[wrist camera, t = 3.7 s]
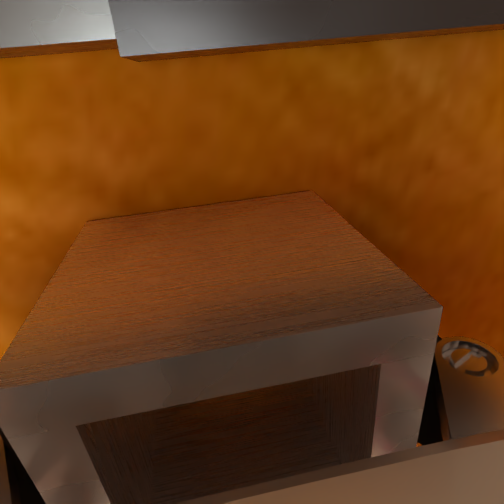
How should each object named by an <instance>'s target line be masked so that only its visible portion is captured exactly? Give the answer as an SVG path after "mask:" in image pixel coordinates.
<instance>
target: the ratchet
mask: <svg viewBox="0 0 504 504" xmlns="http://www.w3.org/2000/svg"><path fill="white" fill-rule="evenodd" d="M493 30H504V0H0V58H11V57H23V56H35V55H47V54H59V53H71V52H83V51H95V50H107V49H119V53H120V57H123V58H127V59H130V60H134V61H138V62H141V61H152V60H164V59H175V58H186V57H198V56H209V55H220V54H232V53H243V52H255V51H266V50H277V49H289V48H300V47H311V46H323V45H334V44H345V43H357V42H368V41H379V40H391V39H402V38H413V37H425V36H436V35H447V34H459V33H470V32H481V31H493Z"/></svg>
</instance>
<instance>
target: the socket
mask: <svg viewBox="0 0 504 504" xmlns="http://www.w3.org/2000/svg"><path fill="white" fill-rule="evenodd" d="M442 310H443V306H442V305H440V304H439V303H438V302H437V301H436V300H435V299H434V298H433V297H431V296H430V295H429V294H428V293H427V292H426V291H425V290H424V289H422V288H421V287H420V286H419V285H418V284H417V283H416V282H415V281H413V280H412V279H411V278H410V277H409V276H408V275H407V274H406V273H404V272H403V271H402V270H401V269H400V268H399V267H398V266H397V265H395V264H394V263H393V262H392V261H391V260H390V259H389V258H388V257H386V256H385V255H384V254H383V253H382V252H381V251H380V250H379V249H377V248H376V247H375V246H374V245H373V244H372V243H371V242H370V241H368V240H367V239H366V238H365V237H364V236H363V235H362V234H361V233H359V232H358V231H357V230H356V229H355V228H354V227H353V226H352V225H350V224H349V223H348V222H347V221H346V220H345V219H344V218H343V217H341V216H340V215H339V214H338V213H337V212H336V211H335V210H334V209H333V208H331V207H330V206H329V205H328V204H327V203H326V202H325V201H324V200H322V199H321V198H320V197H319V196H318V195H317V194H316V193H315V192H313V191H305V192H298V193H290V194H283V195H276V196H269V197H261V198H254V199H247V200H240V201H232V202H225V203H218V204H211V205H203V206H196V207H189V208H182V209H174V210H167V211H160V212H153V213H145V214H138V215H131V216H123V217H116V218H109V219H102V220H94V221H87V222H86V223H85V225H84V227H83V228H82V230H81V232H80V233H79V235H78V236H77V238H76V240H75V241H74V243H73V244H72V246H71V248H70V249H69V251H68V252H67V254H66V256H65V257H64V259H63V261H62V262H61V264H60V265H59V267H58V269H57V270H56V272H55V273H54V275H53V277H52V278H51V280H50V281H49V283H48V285H47V286H46V288H45V289H44V291H43V293H42V294H41V296H40V298H39V299H38V301H37V302H36V304H35V306H34V307H33V309H32V310H31V312H30V314H29V315H28V317H27V318H26V320H25V322H24V323H23V325H22V326H21V328H20V330H19V331H18V333H17V335H16V336H15V338H14V339H13V341H12V343H11V344H10V346H9V347H8V349H7V351H6V352H5V354H4V355H3V357H2V359H1V360H0V428H1V429H2V431H3V433H4V434H5V436H6V438H7V439H8V441H9V443H10V444H11V446H12V448H13V449H14V451H15V453H16V454H17V456H18V458H19V459H20V461H21V463H22V464H23V466H24V468H25V469H26V471H27V473H28V474H29V476H30V478H31V479H32V481H33V483H34V485H35V486H36V488H37V490H38V491H39V493H40V495H41V496H42V498H43V500H44V501H45V503H46V504H175V503H179V502H183V501H187V500H192V499H196V498H200V497H204V496H208V495H213V494H217V493H221V492H225V491H230V490H234V489H238V488H242V487H247V486H251V485H255V484H259V483H264V482H268V481H272V480H276V479H281V478H285V477H289V476H293V475H298V474H302V473H306V472H310V471H315V470H319V469H323V468H328V467H332V466H336V465H341V464H345V463H349V462H354V461H358V460H363V459H367V458H371V457H376V456H380V455H384V454H389V453H393V452H397V451H402V450H406V449H410V448H415V447H416V445H417V440H418V435H419V429H420V424H421V419H422V414H423V409H424V403H425V398H426V393H427V388H428V383H429V378H430V372H431V367H432V362H433V357H434V352H435V346H436V341H437V336H438V331H439V326H440V320H441V315H442Z"/></svg>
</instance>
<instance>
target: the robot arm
mask: <svg viewBox="0 0 504 504" xmlns="http://www.w3.org/2000/svg"><path fill="white" fill-rule="evenodd" d="M0 504H46V503H45V501H44V500H43V498H42V496H41V495H40V493H39V491H38V490H37V488H36V486H35V485H34V483H33V481H32V479H31V478H30V476H29V474H28V473H27V471H26V469H25V468H24V466H23V464H22V463H21V461H20V459H19V458H18V456H17V454H16V453H15V451H14V449H13V448H12V446H11V444H10V443H9V441H8V439H7V438H6V436H5V434H4V433H3V431H2V429H1V428H0ZM175 504H504V358H503V357H502V355H501V354H500V353H498V352H497V351H496V350H495V349H494V348H492V347H490V346H489V345H487V344H485V343H483V342H481V341H478V340H475V339H472V338H467V337H448V338H444V339H441V338H440V337H439V336H437V341H436V346H435V352H434V357H433V362H432V367H431V372H430V378H429V383H428V388H427V393H426V398H425V403H424V409H423V414H422V419H421V424H420V429H419V435H418V440H417V447H415V448H410V449H406V450H402V451H397V452H393V453H389V454H384V455H380V456H376V457H371V458H367V459H363V460H358V461H354V462H349V463H345V464H341V465H336V466H332V467H328V468H323V469H319V470H315V471H310V472H306V473H302V474H298V475H293V476H289V477H285V478H281V479H276V480H272V481H268V482H264V483H259V484H255V485H251V486H247V487H242V488H238V489H234V490H230V491H225V492H221V493H217V494H213V495H208V496H204V497H200V498H196V499H192V500H187V501H183V502H179V503H175Z"/></svg>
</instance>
